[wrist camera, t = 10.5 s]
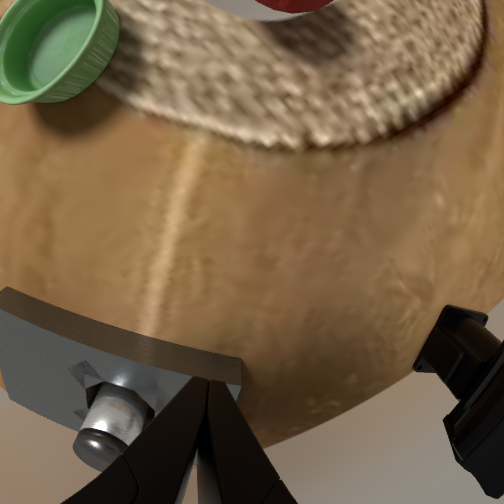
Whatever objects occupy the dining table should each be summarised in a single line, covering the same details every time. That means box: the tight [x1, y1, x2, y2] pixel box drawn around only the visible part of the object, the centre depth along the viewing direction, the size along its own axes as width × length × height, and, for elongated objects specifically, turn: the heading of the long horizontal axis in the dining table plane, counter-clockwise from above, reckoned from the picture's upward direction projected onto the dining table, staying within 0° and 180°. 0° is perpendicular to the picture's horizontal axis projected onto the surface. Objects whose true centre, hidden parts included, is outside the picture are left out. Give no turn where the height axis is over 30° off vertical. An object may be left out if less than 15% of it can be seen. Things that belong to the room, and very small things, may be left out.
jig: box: [0, 287, 242, 465], centre depth 20 cm, size 20×11×3 cm, turn 75°
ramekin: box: [0, 0, 120, 105], centre depth 12 cm, size 9×9×4 cm
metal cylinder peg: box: [73, 381, 149, 472], centre depth 18 cm, size 4×4×8 cm
